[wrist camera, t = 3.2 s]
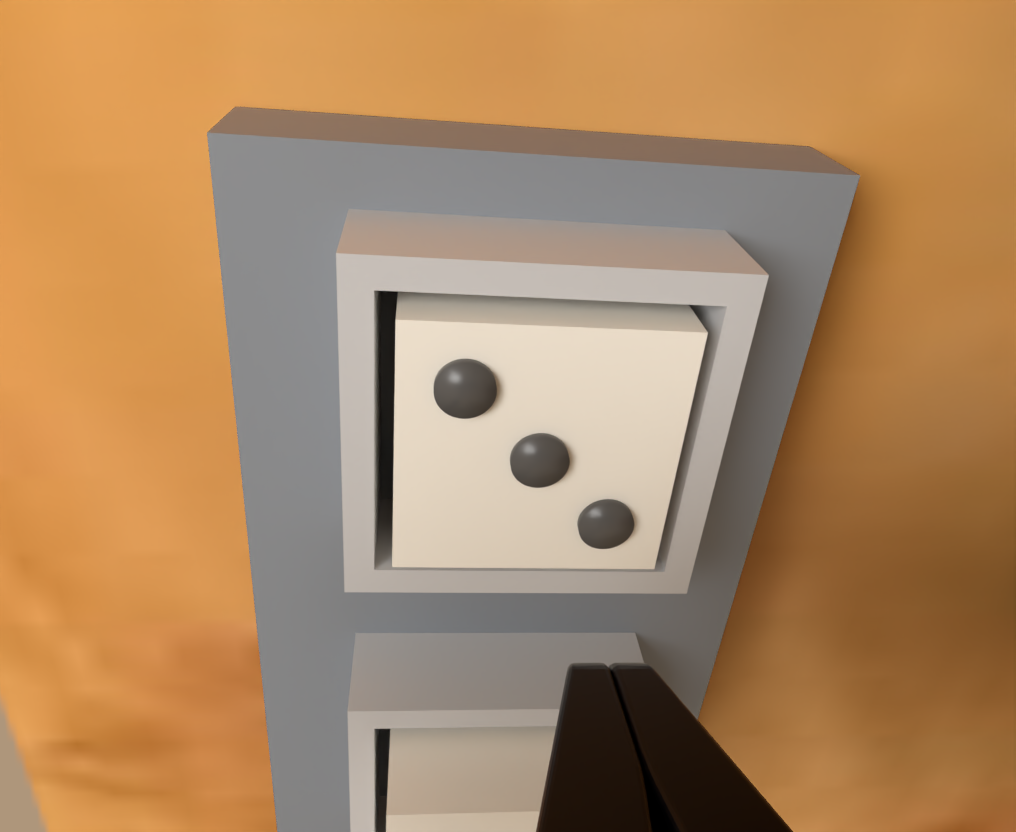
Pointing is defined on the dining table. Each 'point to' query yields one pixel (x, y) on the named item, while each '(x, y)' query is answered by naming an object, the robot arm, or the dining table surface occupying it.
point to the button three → (537, 429)
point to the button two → (467, 778)
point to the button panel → (370, 408)
